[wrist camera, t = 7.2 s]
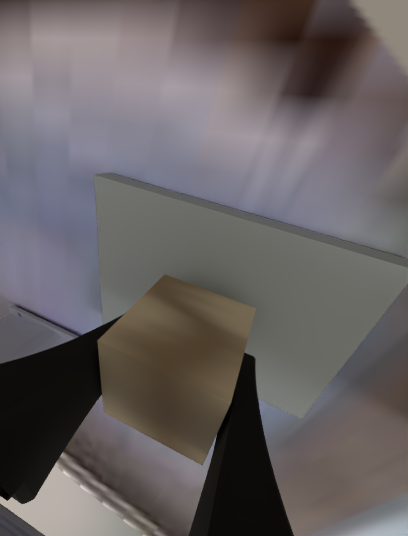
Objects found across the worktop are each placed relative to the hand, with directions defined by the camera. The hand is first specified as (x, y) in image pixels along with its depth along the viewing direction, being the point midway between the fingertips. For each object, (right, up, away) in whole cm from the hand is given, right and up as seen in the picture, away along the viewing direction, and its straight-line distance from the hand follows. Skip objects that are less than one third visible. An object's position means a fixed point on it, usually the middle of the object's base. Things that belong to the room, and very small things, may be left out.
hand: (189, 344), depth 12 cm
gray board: (+1, +2, +3) cm, 4 cm away
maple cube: (+1, +1, +1) cm, 2 cm away
